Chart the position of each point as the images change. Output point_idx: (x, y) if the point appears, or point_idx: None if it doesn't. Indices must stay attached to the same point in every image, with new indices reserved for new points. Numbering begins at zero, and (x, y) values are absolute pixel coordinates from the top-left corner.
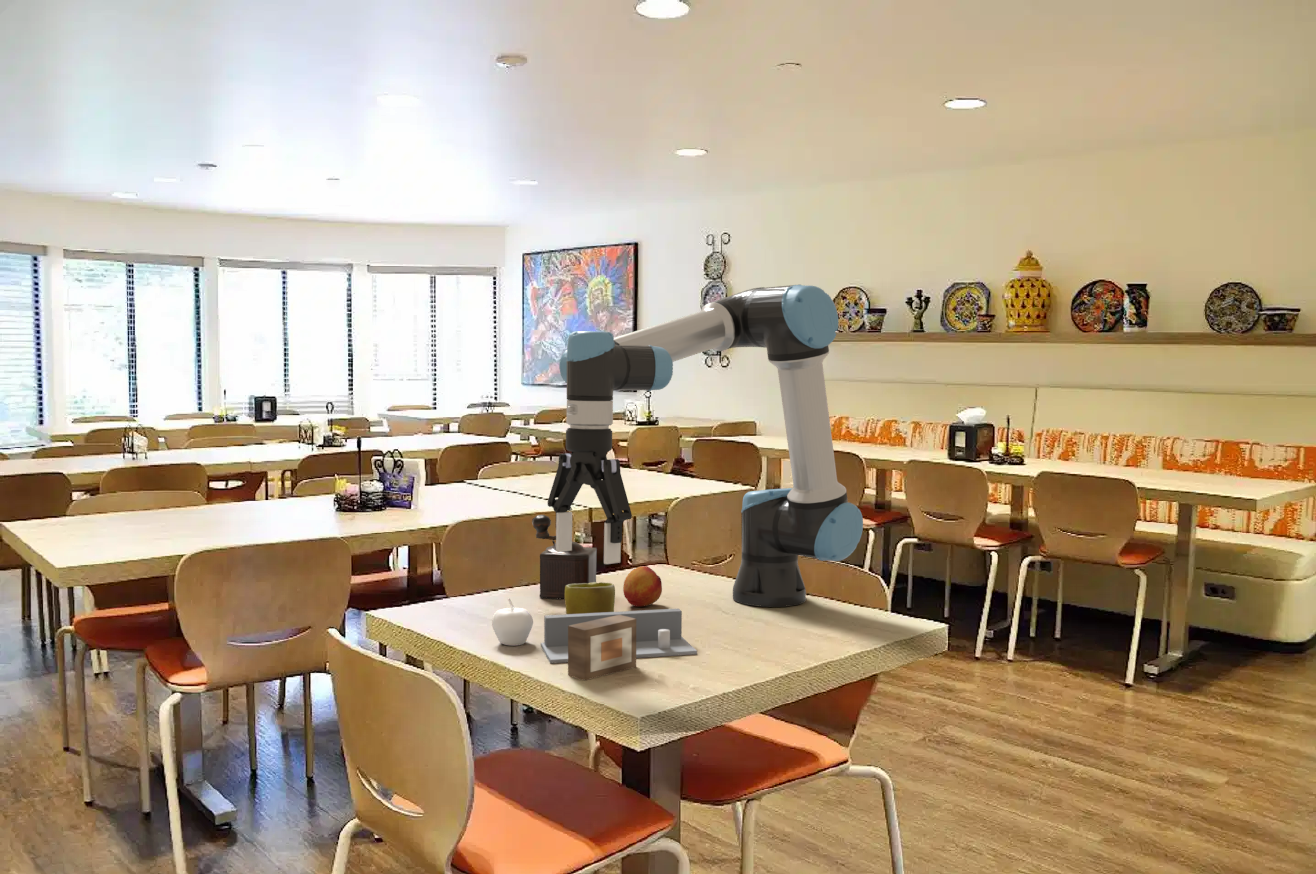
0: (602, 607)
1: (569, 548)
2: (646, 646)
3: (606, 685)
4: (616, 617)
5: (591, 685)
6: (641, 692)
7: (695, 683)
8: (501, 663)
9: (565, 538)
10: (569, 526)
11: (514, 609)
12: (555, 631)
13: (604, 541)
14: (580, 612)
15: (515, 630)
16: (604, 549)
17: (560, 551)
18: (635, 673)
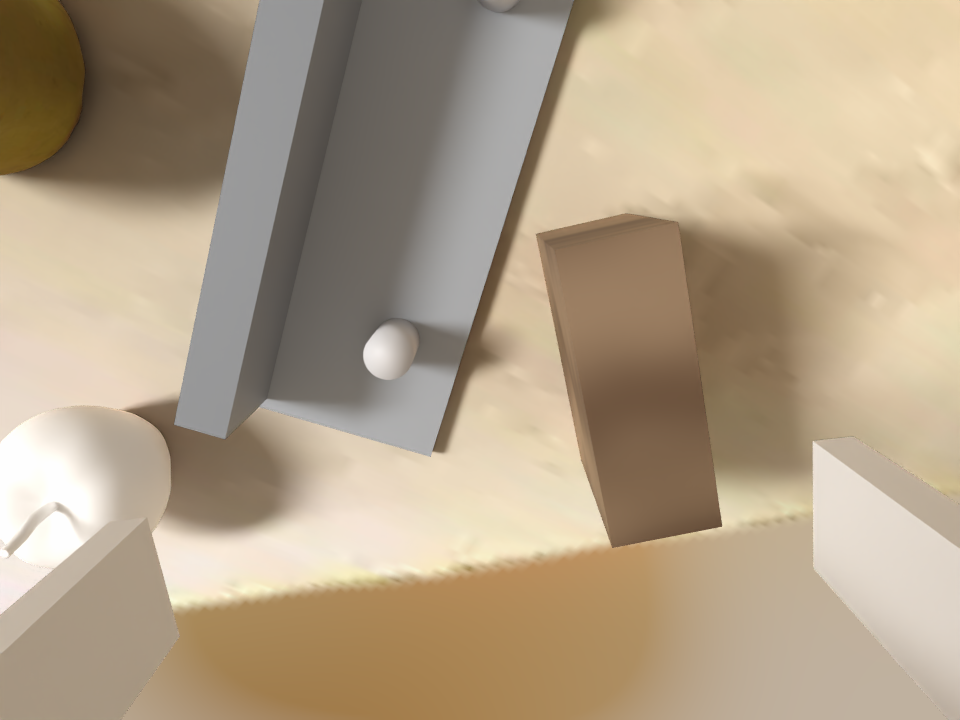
0: (15, 39)
1: (142, 548)
2: (442, 43)
3: (748, 408)
4: (599, 295)
5: (720, 447)
6: (879, 350)
7: (922, 132)
8: (351, 575)
9: (103, 649)
10: (2, 697)
11: (24, 493)
12: (255, 383)
13: (941, 703)
14: (2, 149)
15: (166, 501)
16: (888, 643)
17: (172, 618)
18: (692, 258)
